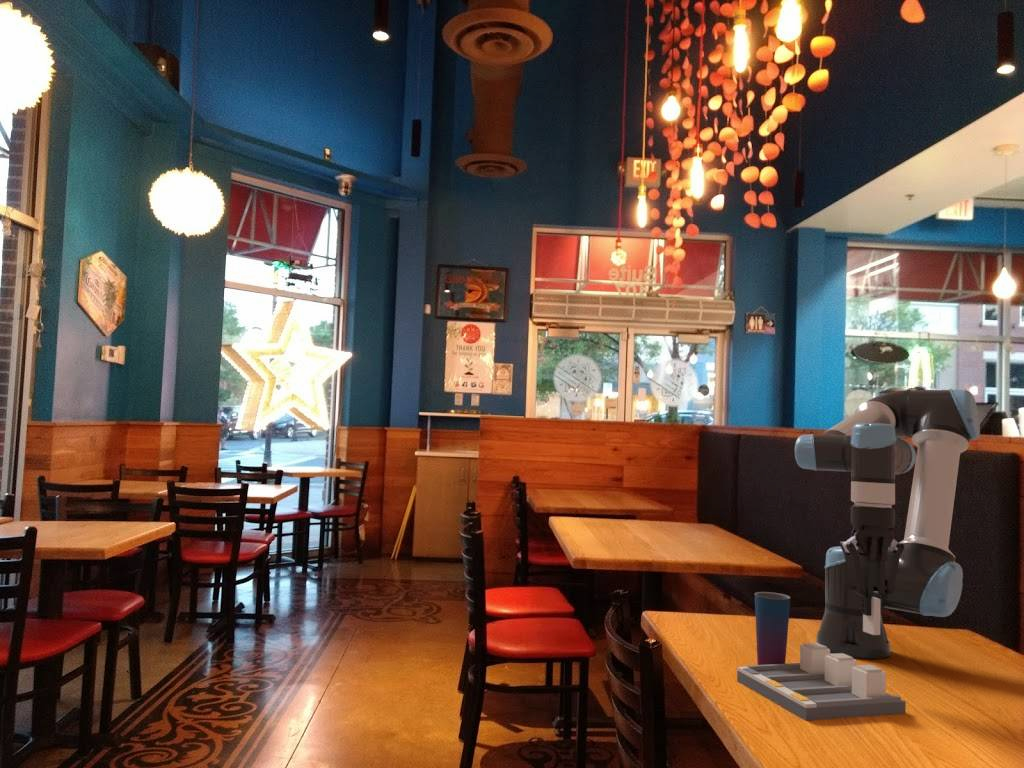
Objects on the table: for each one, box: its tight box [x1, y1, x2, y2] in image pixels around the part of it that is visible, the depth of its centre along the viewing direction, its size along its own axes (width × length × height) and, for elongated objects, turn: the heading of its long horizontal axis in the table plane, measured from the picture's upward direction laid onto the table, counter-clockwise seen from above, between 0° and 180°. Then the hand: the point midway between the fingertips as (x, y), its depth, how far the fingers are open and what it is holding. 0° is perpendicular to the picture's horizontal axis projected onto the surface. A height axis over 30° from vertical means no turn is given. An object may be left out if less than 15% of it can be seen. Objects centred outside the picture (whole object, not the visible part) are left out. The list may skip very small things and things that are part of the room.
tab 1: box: [799, 642, 831, 673], centre depth 142 cm, size 4×4×5 cm
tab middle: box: [825, 653, 857, 686], centre depth 135 cm, size 4×4×5 cm
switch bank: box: [736, 662, 907, 722], centre depth 133 cm, size 20×20×3 cm
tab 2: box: [852, 664, 887, 698], centre depth 128 cm, size 4×4×5 cm
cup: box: [754, 591, 791, 665], centre depth 147 cm, size 7×7×15 cm
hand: (871, 632), depth 137 cm, fingers closed
